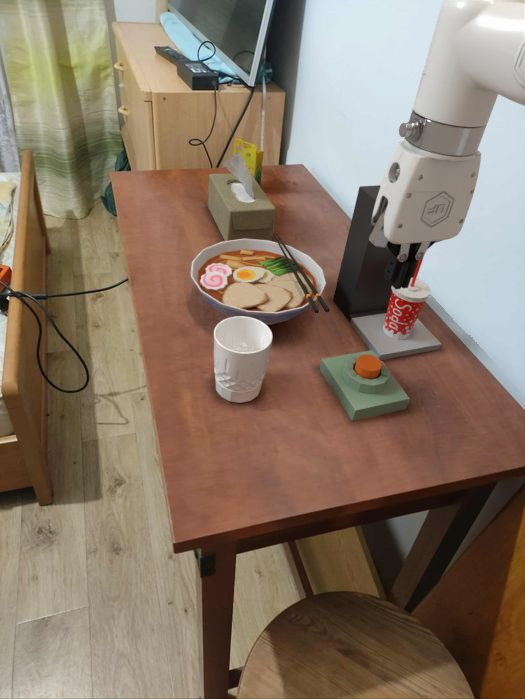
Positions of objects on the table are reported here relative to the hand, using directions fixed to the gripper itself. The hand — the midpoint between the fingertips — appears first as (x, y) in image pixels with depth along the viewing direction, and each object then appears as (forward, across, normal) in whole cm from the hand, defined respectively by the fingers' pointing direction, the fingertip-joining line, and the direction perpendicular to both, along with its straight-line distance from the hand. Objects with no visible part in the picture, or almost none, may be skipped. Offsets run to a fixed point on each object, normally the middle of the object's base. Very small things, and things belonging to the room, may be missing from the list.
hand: (395, 282), depth 65 cm
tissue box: (+19, -2, +53) cm, 56 cm away
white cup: (+19, -18, +5) cm, 27 cm away
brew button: (+16, 0, 0) cm, 16 cm away
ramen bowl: (+19, -9, +23) cm, 31 cm away
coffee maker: (+19, +12, +14) cm, 26 cm away
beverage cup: (+18, +12, +10) cm, 24 cm away
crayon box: (+19, +6, +72) cm, 75 cm away
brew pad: (+19, 0, 0) cm, 19 cm away
